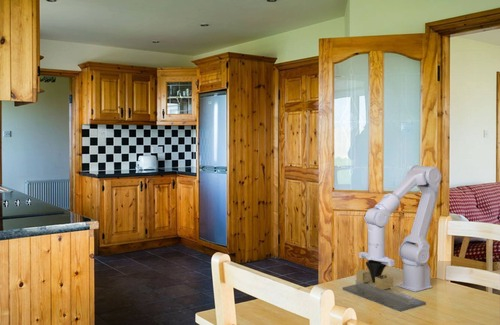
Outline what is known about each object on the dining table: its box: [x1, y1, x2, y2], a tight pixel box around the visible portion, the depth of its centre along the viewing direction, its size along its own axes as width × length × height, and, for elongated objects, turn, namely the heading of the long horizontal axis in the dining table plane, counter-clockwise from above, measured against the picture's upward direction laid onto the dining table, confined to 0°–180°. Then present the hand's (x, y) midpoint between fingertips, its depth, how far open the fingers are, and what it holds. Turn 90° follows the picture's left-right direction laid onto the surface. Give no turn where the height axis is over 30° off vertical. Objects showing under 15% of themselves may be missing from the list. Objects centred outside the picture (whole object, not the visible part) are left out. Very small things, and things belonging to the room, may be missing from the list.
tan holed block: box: [374, 274, 394, 290], centre depth 164 cm, size 6×3×6 cm, turn 122°
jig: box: [342, 268, 426, 312], centre depth 163 cm, size 12×26×7 cm, turn 32°
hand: (376, 282), depth 166 cm, fingers closed
